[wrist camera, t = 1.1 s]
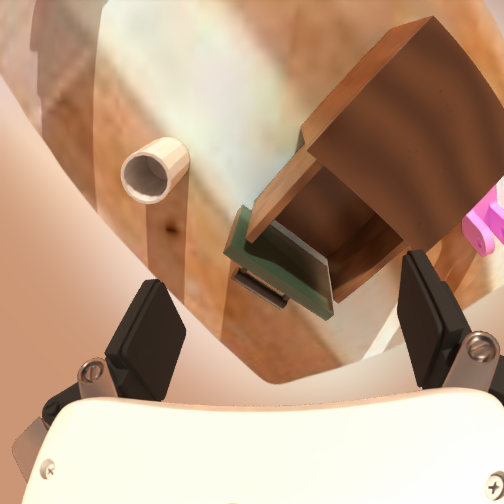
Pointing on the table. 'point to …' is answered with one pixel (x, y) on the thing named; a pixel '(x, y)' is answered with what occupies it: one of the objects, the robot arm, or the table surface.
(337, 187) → the drawer
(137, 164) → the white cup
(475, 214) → the bracket
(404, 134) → the cabinet
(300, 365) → the table surface
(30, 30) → the table surface
